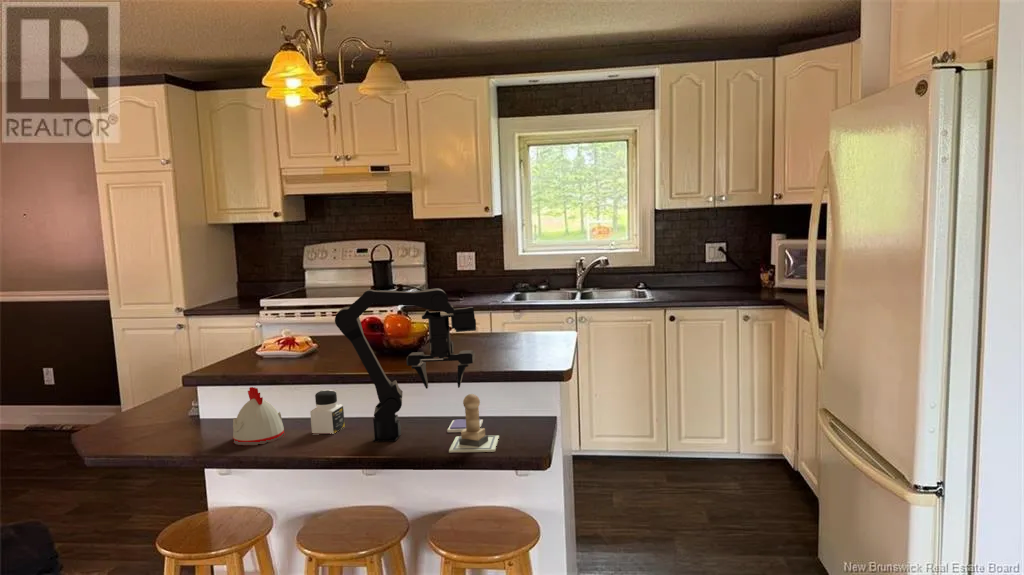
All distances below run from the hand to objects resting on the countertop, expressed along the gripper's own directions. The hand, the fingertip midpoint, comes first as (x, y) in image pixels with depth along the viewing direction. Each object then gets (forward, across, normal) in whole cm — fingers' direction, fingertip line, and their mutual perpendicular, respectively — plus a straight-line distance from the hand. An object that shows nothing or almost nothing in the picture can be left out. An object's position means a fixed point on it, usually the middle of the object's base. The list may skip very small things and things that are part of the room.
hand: (443, 387), depth 184 cm
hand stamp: (+12, -10, +11) cm, 19 cm away
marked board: (+13, -10, +11) cm, 20 cm away
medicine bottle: (+13, +36, -4) cm, 39 cm away
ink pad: (+13, -5, -4) cm, 15 cm away
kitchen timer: (+13, +55, +1) cm, 57 cm away
